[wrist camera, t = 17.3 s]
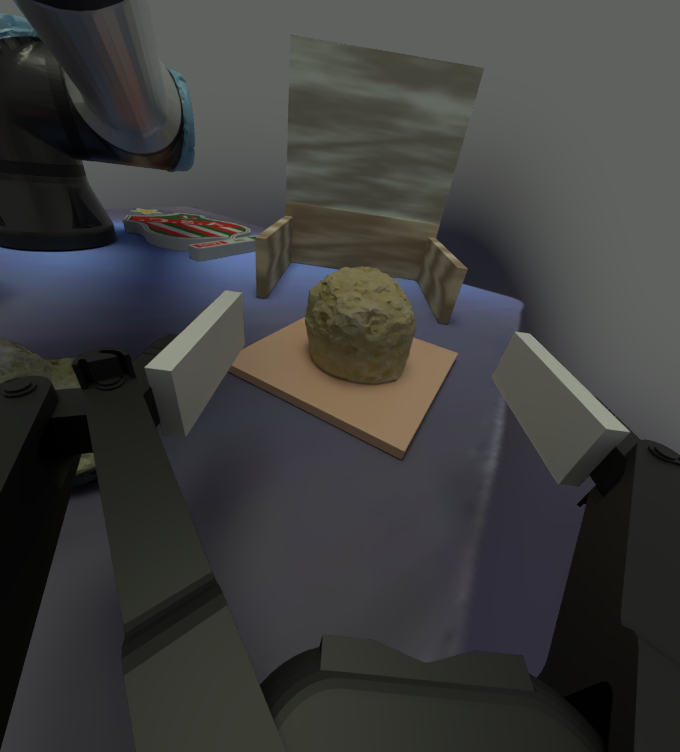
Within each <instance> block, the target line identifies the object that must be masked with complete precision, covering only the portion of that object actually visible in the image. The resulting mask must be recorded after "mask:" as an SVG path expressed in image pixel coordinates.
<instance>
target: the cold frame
mask: <svg viewBox="0 0 680 752" xmlns="http://www.w3.org/2000/svg"><path fill="white" fill-rule="evenodd" d="M483 70H484V68H480V67H475V66H469V65H463V64H458V63H452V62H446V61H440V60H434V59H429V58H423V57H417V56H411V55H405V54H400V53H394V52H388V51H382V50H377V49H371V48H365V47H359V46H353V45H347V44H342V43H335V42H330V41H324V40H319V39H313V38H307V37H301V36H295V35H290V66H289V104H288V142H287V147H288V148H287V180H286V181H287V183H286V209H285V213H286V214H285V216H284V217H283V218H281V219H280V220H279V221H277V222H276V223H275V224H273V225H272V226H270V227H269V228H268V229H266V230H265V231H263V232H262V233H261V234H259V235H258V236H256V237H255V248H256V287H257V297H259V298H267V297H268V295H269V294H270V292H271V291H272V289H273V288H274V286H275V285H276V284H277V282H278V281H279V279H280V278H281V276H282V275H283V273H284V272H285V270H286V269H287V267H288V266H289V264H290V263H291V262H295V263H302V264H309V265H316V266H322V267H329V268H336V269H341V268H344V267H349V268H356V267H362V266H363V267H371V268H378V269H379V270H380V272H382V273H386V274H388V275H389V276H391V277H397V278H404V279H411V280H417V282H418V284H419V286H420V288H421V290H422V292H423V294H424V296H425V298H426V300H427V302H428V303H429V305H430V307H431V309H432V311H433V313H434V315H435V317H436V319H437V321H438V323H442V324H448V322H449V319H450V316H451V313H452V311H453V308H454V305H455V302H456V300H457V297H458V294H459V291H460V289H461V286H462V283H463V280H464V277H465V274H466V272H467V268H466V267H465V266H464V265H463V264H462V263H461V262H460V261H459V260H458V259H457V258H456V257H455V256H453V255H452V254H451V253H450V252H449V251H448V250H447V249H446V248H445V247H444V246H443V245H442V244H441V243H440V242H439V241H438V240H437V239H436V236H437V232H438V228H439V224H440V221H441V217H442V214H443V210H444V207H445V203H446V199H447V196H448V193H449V189H450V185H451V182H452V179H453V175H454V171H455V168H456V165H457V161H458V158H459V154H460V151H461V147H462V144H463V140H464V137H465V133H466V130H467V126H468V123H469V119H470V116H471V112H472V109H473V105H474V102H475V99H476V95H477V92H478V88H479V84H480V81H481V77H482V74H483Z"/></svg>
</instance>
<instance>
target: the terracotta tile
mask: <svg viewBox="0 0 680 752" xmlns="http://www.w3.org/2000/svg"><path fill="white" fill-rule="evenodd" d="M308 348H309V341H308V336H307V329H306V325H305V317H304V318H302V319H300V320H298V321H296V322H294V323H292V324H291V325H289V326H287V327H285V328H283V329H281V330H279V331H277V332H275V333H273V334H271V335H269V336H267V337H265V338H263V339H261V340H259V341H257V342H256V343H254V344H252V345H250V346H248V347H246V348H244V349H242V350H241V351H240V353H239V354H238V356H237V357H236V359H235V360H234V362H233V364H232V365H231V367H230V368H229V370H228V372H230V373H232V374H234V375H236V376H238V377H240V378H242V379H244V380H246V381H248V382H250V383H252V384H254V385H256V386H258V387H260V388H262V389H264V390H266V391H267V392H269V393H271V394H273V395H275V396H277V397H279V398H281V399H283V400H285V401H287V402H289V403H291V404H293V405H295V406H297V407H299V408H301V409H303V410H305V411H307V412H309V413H311V414H313V415H314V416H316V417H318V418H320V419H322V420H324V421H326V422H328V423H330V424H332V425H334V426H336V427H338V428H340V429H342V430H344V431H346V432H348V433H350V434H352V435H354V436H356V437H358V438H360V439H361V440H363V441H365V442H367V443H369V444H371V445H373V446H375V447H377V448H379V449H381V450H383V451H385V452H387V453H389V454H391V455H393V456H395V457H397V458H399V459H401V460H402V458H403V456H404V455H405V453H406V451H407V449H408V447H409V445H410V443H411V442H412V440H413V438H414V436H415V434H416V432H417V430H418V429H419V427H420V425H421V423H422V421H423V419H424V417H425V416H426V414H427V412H428V410H429V408H430V406H431V404H432V403H433V401H434V399H435V397H436V395H437V393H438V391H439V390H440V388H441V386H442V384H443V382H444V380H445V379H446V377H447V375H448V373H449V371H450V369H451V367H452V366H453V364H454V362H455V360H456V357H457V355H458V353H455V352H453V351H450V350H447V349H444V348H441V347H439V346H436V345H433V344H430V343H427V342H425V341H422V340H419V339H416V338H413V342H412V345H411V349H410V354H409V358H408V359H407V362H406V365H405V367H404V369H403V372H402V374H401V375H399V377H398V379H397V380H393V381H390V382H384V383H378V384H366V383H358V382H351V381H348V380H347V379H343V378H339V377H337V376H334V375H331V374H330V373H328V372H326V371H325V370H323V369H321V368H320V367H318V366H317V365H316V364H315V362H314V360H313V359H312V355H311V353H310V351H309V349H308Z"/></svg>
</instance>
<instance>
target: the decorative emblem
mask: <svg viewBox="0 0 680 752" xmlns="http://www.w3.org/2000/svg"><path fill="white" fill-rule="evenodd" d="M130 213H131V215H127V216H126V217H125V218H124V219H123V224H124V228H125V232H128V233H137V234H141V235H143V236H144V237H145V238H146V241H147V242H149V243H150V244H152V245H155V246H158V247H162V248H166V249H172V250H180V251H189V252H190V258H192V259H194V260H197V261H207V260H212V259H217V258H222V257H228V256H233V255H238V254H244V253H249V252H254V251H256V248H255V237H256V236H258V235H256V236H251V230H250V229H249V228H247V227H245V226H242V225H239V224H235V223H230V222H224V221H218V220H212V219H208V218H205V216H202V215H194V214H186V213H175V214H170V215H163V214H162V213H160V212H158V210H145V209H139V208H137V209H136V210H133V211H130Z"/></svg>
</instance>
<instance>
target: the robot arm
mask: <svg viewBox="0 0 680 752" xmlns="http://www.w3.org/2000/svg"><path fill="white" fill-rule="evenodd" d="M13 1H14V2H15V4H16V5H17V6H18V8H19V9H20V11H21V12H22V13H23V15H24V16H25V17H26V19H25V18H22V17H19V16H15V15H10V14H3V13H0V246H5V247H10V248H18V249H30V250H72V249H83V248H91V247H97V246H102V245H106V244H109V243H112V242H114V241H115V240H116V239H117V236H116V232H115V229H114V225H113V223H112V221H111V219H110V218H109V216H108V214H107V213H106V211H105V209H104V208H103V206H102V205H101V203H100V201H99V200H98V198H97V197H96V195H95V193H94V192H93V190H92V188H91V186H90V185H89V182H88V180H87V177H86V174H85V170H84V166H83V163H82V160H86V161H96V162H105V163H112V164H121V165H128V166H137V167H144V168H153V169H160V170H167V171H169V172H175V171H188V170H190V169H191V167H192V166H193V163H194V155H195V152H194V147H195V133H194V119H193V111H192V103H191V98H190V93H189V89H188V86H187V84H186V81H185V79H184V78H183V76H182V75H181V74H179V73H178V72H175V71H172V70H171V69H170V68H167V67H165V66H164V65H163V64H162V62H161V61H160V60H159V57H158V51H157V46H156V41H155V35H154V30H153V25H152V20H151V15H150V9H149V4H148V0H13ZM244 345H245V340H244V321H243V301H242V293H240V292H233V291H226V290H225V291H224V292H223V293H222V294H221V295H220V296H219V297H218V298H217V299H216V300H215V301H214V302H213V303H212V304H211V305H210V306H209V307H208V308H207V309H205V310H204V311H203V312H202V313H201V314H200V315H199V316H198V317H197V318H196V319H195V320H194V321H193V322H192V323H191V324H190V325H189V326H188V327H187V328H186V329H184V330H183V331H182V332H181V333H180V334H179V335H174V334H169V335H167V336H164V337H162V338H160V339H158V340H156V341H155V342H154V343H153V344H152V345H151V346H150V347H149V348H147V349H146V350H145V351H144V352H143V354H140V355H139V356H138V357H137V358H136V359H135V360H133V361H132V362H131V358H130V355H129V353H128V352H127V351H126V350H123V349H120V348H99V349H95V350H91V351H87V352H85V353H83V354H81V355H79V356H78V357H76V358H75V359H74V360H73V362H72V365H71V366H72V368H73V370H74V372H75V375H76V377H77V379H78V382H79V384H80V386H81V388H70V389H55V388H54V386H53V384H52V382H51V381H50V380H49V379H48V378H47V377H42V376H24V377H16V378H12V379H11V380H10V379H9V380H7V381H4V382H2V383H0V749H1V746H2V742H3V738H4V735H5V731H6V727H7V724H8V720H9V717H10V713H11V709H12V706H13V702H14V698H15V695H16V691H17V687H18V684H19V680H20V676H21V673H22V669H23V666H24V662H25V658H26V655H27V651H28V647H29V644H30V640H31V636H32V633H33V629H34V626H35V622H36V618H37V615H38V611H39V607H40V604H41V600H42V596H43V593H44V589H45V586H46V582H47V578H48V575H49V571H50V567H51V564H52V560H53V556H54V553H55V549H56V545H57V542H58V538H59V535H60V531H61V527H62V524H63V520H64V516H65V513H66V509H67V505H68V502H69V498H70V495H71V491H72V487H73V484H74V480H75V476H76V473H77V469H78V465H79V462H80V458H81V455H82V454H87V453H93V455H94V460H95V466H96V471H97V477H98V483H99V488H100V494H101V500H102V505H103V511H104V517H105V522H106V528H107V534H108V539H109V545H110V551H111V556H112V562H113V568H114V573H115V579H116V585H117V590H118V596H119V601H120V607H121V613H122V618H123V624H124V631H125V640H124V643H123V646H122V666H123V674H124V681H125V687H126V693H127V699H128V706H129V712H130V718H131V724H132V730H133V737H134V743H135V749H136V752H680V455H679V454H677V453H676V452H674V451H673V450H671V449H670V448H668V447H666V446H664V445H662V444H659V443H656V442H654V441H650V440H640V439H639V438H638V437H637V436H636V435H635V434H634V433H633V432H632V431H631V430H630V429H629V428H628V427H627V426H626V425H625V424H624V423H623V422H622V421H621V420H620V419H618V417H615V415H614V413H612V412H611V411H610V410H609V409H607V407H606V406H605V405H604V404H603V403H602V402H601V401H600V400H599V399H598V398H597V397H595V396H593V395H592V394H591V393H590V392H589V391H588V390H587V389H586V388H585V387H584V386H583V385H582V384H580V382H579V381H578V380H577V379H576V378H575V377H573V376H572V375H571V374H570V373H569V372H568V371H567V370H566V369H565V368H564V367H563V366H562V365H561V364H560V363H559V362H558V361H557V360H556V359H555V358H554V357H553V356H552V355H551V354H550V353H549V352H548V351H547V350H546V349H545V348H544V347H543V346H542V345H541V344H540V343H539V342H538V341H537V340H536V339H535V338H534V337H533V336H532V335H531V334H527V333H520V332H514V334H513V336H512V338H511V340H510V342H509V344H508V346H507V348H506V350H505V352H504V354H503V356H502V358H501V360H500V362H499V364H498V366H497V368H496V370H495V372H494V374H493V376H492V380H493V382H494V383H495V385H496V386H497V388H498V389H499V391H500V393H501V394H502V396H503V397H504V399H505V401H506V402H507V404H508V405H509V407H510V409H511V410H512V412H513V413H514V415H515V417H516V418H517V420H518V421H519V423H520V425H521V426H522V428H523V429H524V431H525V433H526V434H527V436H528V437H529V439H530V440H531V442H532V444H533V445H534V447H535V448H536V450H537V452H538V453H539V455H540V456H541V458H542V460H543V461H544V463H545V464H546V466H547V468H548V469H549V471H550V472H551V474H552V476H553V477H554V479H555V480H556V482H557V484H558V485H566V486H574V487H580V485H581V484H582V483H583V482H584V481H585V480H586V479H587V478H588V477H589V476H590V477H591V478H592V480H593V481H594V482H595V484H596V485H595V486H594V487H593V489H591V490H590V491H589V492H588V493H587V495H585V496H584V498H583V499H582V500H581V501H580V502H579V503H578V504H577V505H578V506H580V507H581V506H582V505H583V504H586V507H585V512H584V515H583V520H582V523H581V528H580V531H579V535H578V539H577V543H576V547H575V551H574V555H573V559H572V563H571V567H570V571H569V575H568V579H567V583H566V587H565V591H564V595H563V599H562V603H561V607H560V611H559V615H558V619H557V622H556V627H555V630H554V634H553V639H552V643H551V646H550V650H549V655H548V658H547V661H546V664H545V666H544V668H543V670H542V672H541V673H540V674H539V676H538V677H537V678H535V677H534V676H532V675H530V674H529V673H528V670H527V667H526V664H525V661H524V658H523V656H522V655H513V654H503V653H494V652H485V651H471V652H467V653H464V654H460V655H456V656H453V657H449V658H445V659H442V660H438V661H435V662H430V663H425V662H422V661H419V660H417V659H415V658H413V657H410V656H408V655H406V654H404V653H401V652H399V651H397V650H395V649H392V648H390V647H388V646H386V645H383V644H381V643H379V642H377V641H374V640H370V639H361V638H351V637H342V636H332V635H323V636H322V639H321V643H320V646H319V647H318V648H314V649H311V650H307V651H305V652H303V653H300V654H298V655H296V656H294V657H293V658H291V659H289V660H288V661H286V662H284V663H283V664H282V665H281V666H279V667H278V668H277V669H276V670H274V671H273V672H272V673H271V674H270V675H269V676H268V677H267V678H266V679H265V680H264V681H263V682H262V683H261V684H260V685H259V683H258V680H257V678H256V675H255V673H254V670H253V668H252V665H251V662H250V660H249V657H248V655H247V652H246V650H245V647H244V645H243V642H242V640H241V637H240V635H239V632H238V630H237V627H236V625H235V622H234V620H233V617H232V614H231V612H230V609H229V607H228V604H227V602H226V600H225V597H224V595H223V592H222V590H221V588H220V586H219V584H218V583H217V582H216V580H215V578H214V575H213V573H212V570H211V568H210V565H209V562H208V560H207V557H206V555H205V552H204V550H203V547H202V545H201V542H200V539H199V537H198V534H197V532H196V529H195V527H194V524H193V521H192V519H191V516H190V514H189V511H188V509H187V506H186V504H185V501H184V498H183V496H182V493H181V491H180V488H179V486H178V483H177V480H176V478H175V475H174V473H173V470H172V468H171V465H170V463H169V460H168V457H167V455H166V452H165V450H164V447H163V445H162V442H161V439H160V437H159V434H158V432H157V429H156V427H157V425H158V424H159V423H160V426H161V429H162V433H163V435H168V436H176V437H184V438H186V437H187V435H188V434H189V432H190V430H191V429H192V427H193V426H194V424H195V422H196V421H197V419H198V418H199V416H200V414H201V413H202V411H203V410H204V408H205V407H206V405H207V403H208V402H209V400H210V399H211V397H212V395H213V394H214V392H215V391H216V389H217V387H218V386H219V384H220V383H221V381H222V380H223V378H224V376H225V375H226V373H227V372H228V370H229V368H230V367H231V365H232V364H233V362H234V360H235V359H236V357H237V356H238V354H239V353H240V351H241V349H242V348H243V346H244Z"/></svg>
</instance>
